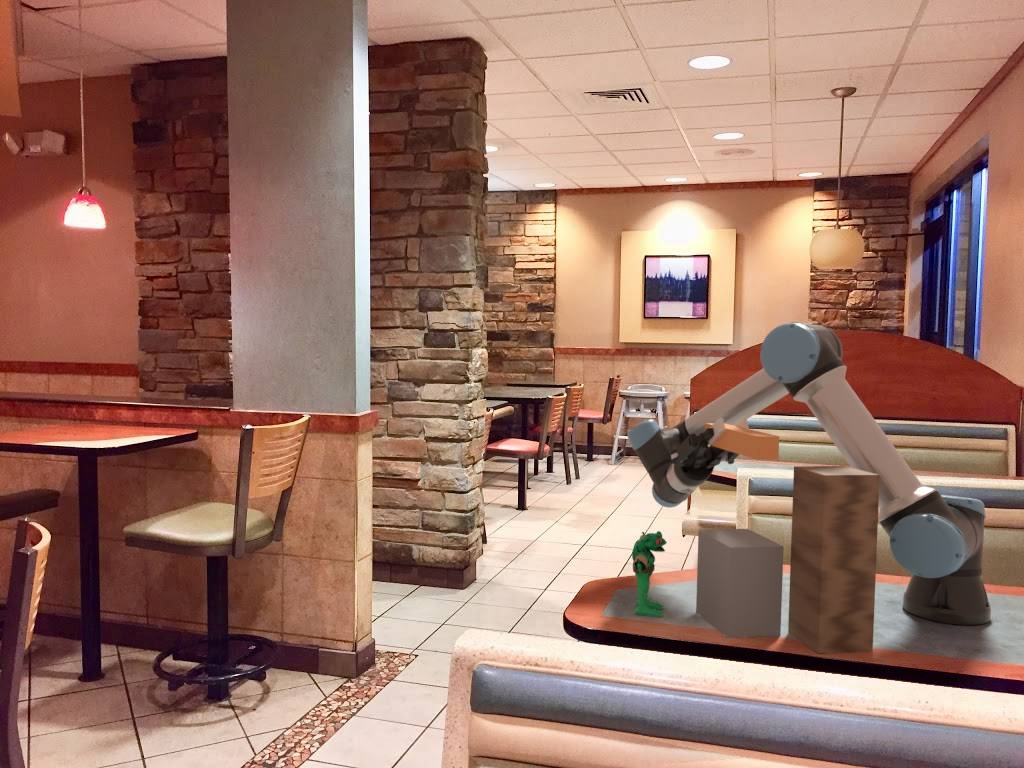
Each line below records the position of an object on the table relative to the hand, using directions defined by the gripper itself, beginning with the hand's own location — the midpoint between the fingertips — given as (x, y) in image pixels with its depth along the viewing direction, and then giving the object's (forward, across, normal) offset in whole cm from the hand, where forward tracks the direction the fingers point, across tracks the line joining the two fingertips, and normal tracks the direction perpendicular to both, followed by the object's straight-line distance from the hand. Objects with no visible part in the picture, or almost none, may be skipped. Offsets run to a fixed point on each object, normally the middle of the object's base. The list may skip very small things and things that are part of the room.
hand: (734, 424), depth 153 cm
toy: (-23, +14, -29) cm, 40 cm away
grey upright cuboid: (-15, 0, -33) cm, 37 cm away
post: (-6, -12, -39) cm, 41 cm away
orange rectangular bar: (0, 0, -5) cm, 5 cm away
